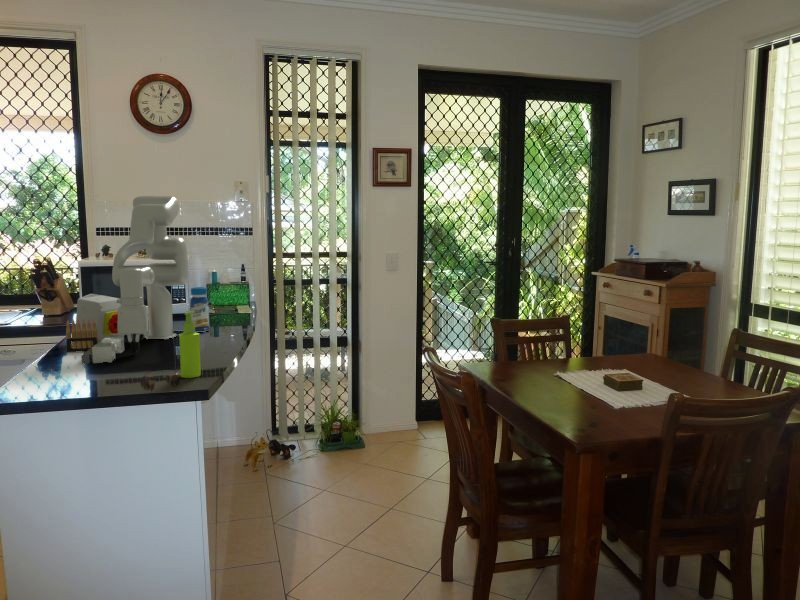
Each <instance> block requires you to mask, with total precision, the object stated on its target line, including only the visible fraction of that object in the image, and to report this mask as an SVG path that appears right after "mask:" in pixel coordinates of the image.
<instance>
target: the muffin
mask: <svg viewBox="0 0 800 600" xmlns="http://www.w3.org/2000/svg"><path fill="white" fill-rule="evenodd" d="M110 342H111V344H114V342H113V341H112V339H111V338H104V339H102V342H101V343H110ZM116 347H117V346H116V344H115V351H116Z"/></svg>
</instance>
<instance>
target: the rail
mask: <svg viewBox="0 0 800 600" xmlns="http://www.w3.org/2000/svg"><path fill="white" fill-rule="evenodd" d="M105 338H111V339H112V341H113V342H114V344H111V342H110V343H97V344H96V345H94V346H93V347H92V348H90V349H89V350H88V351H84V352H83V354H81V355H80V357H81V358H80V360H81V365H88V364H89V363H90V362H91V363H92V364H100V363H101V364H103V362H108V363H113V362H114V361H115V360H116V354H122V353H123V352H124V351H125V338H123V337H118V335H108V336H107V337H105ZM115 344H116V346H117V347H116V351H115ZM114 359H115V360H114ZM113 360H114V361H113ZM112 361H113V362H112ZM83 363H84V364H83ZM86 363H87V364H86ZM91 363H90V364H91Z"/></svg>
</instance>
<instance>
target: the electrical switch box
mask: <svg viewBox="0 0 800 600" xmlns="http://www.w3.org/2000/svg"><path fill="white" fill-rule="evenodd" d="M117 299H120V297H113V296H108V295H102V294H96V293H89V294H86V295H84V296H82V297H79V298H78V299H77V303H76V317H75V328H76V337H77V321H78V320H79V322H80V327H81V334H82V321H83V319H84V321H85V326H86V332H87V322H88V319H89V320H90V324H91V330H92V327H93V319H94V320H95V322H96V329H97V339H98V343H101V342H102V339H104V338H105V337H107V336H108V335H118V328H117V325H118V309H119V307H120V306H121V304H120V303H117ZM92 344H93V341H92ZM87 345H88V343H87Z"/></svg>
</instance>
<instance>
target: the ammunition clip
mask: <svg viewBox="0 0 800 600" xmlns="http://www.w3.org/2000/svg"><path fill="white" fill-rule="evenodd" d="M70 324H71V325H70ZM65 330H66V331H65V335H66V336H65V337H66V343H65V345H66V346H65V347H66V348H65V349H66V351H65V352H66V353H74V352H75V353H77V352H76V351H82V352H86V351H88V350H89V349H90V348H92V347H93V346H94V345H96V344H97V343H98V339H97V329H96V322H95V320H94V319H93V327H92V330H91V324H90V320H89V319H88V322H87V332H86V326H85V321H84V319H83V321H82V334H81V327H80V322H79V320H78V321H77V337H76V321H75V320H74V319H72V321H71V323H70V321H69V319H68V320H67V321H66V329H65ZM92 341H93V344H92ZM87 343H88V344H87Z"/></svg>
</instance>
